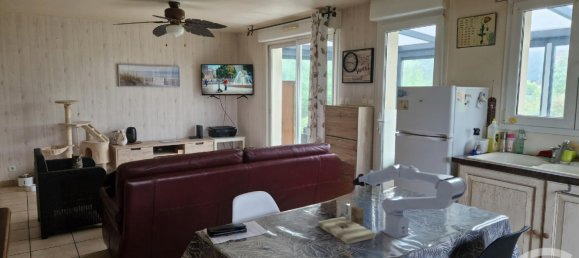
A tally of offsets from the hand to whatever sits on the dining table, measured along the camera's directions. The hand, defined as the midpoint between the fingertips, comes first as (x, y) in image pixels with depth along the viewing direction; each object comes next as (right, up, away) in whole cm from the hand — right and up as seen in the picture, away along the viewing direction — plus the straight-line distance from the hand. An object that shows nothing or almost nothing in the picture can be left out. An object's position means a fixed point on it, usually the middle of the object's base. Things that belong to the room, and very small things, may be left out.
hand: (359, 183), depth 175 cm
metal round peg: (-7, -17, +3) cm, 18 cm away
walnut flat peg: (-2, -18, -4) cm, 18 cm away
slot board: (-9, -19, -14) cm, 25 cm away
